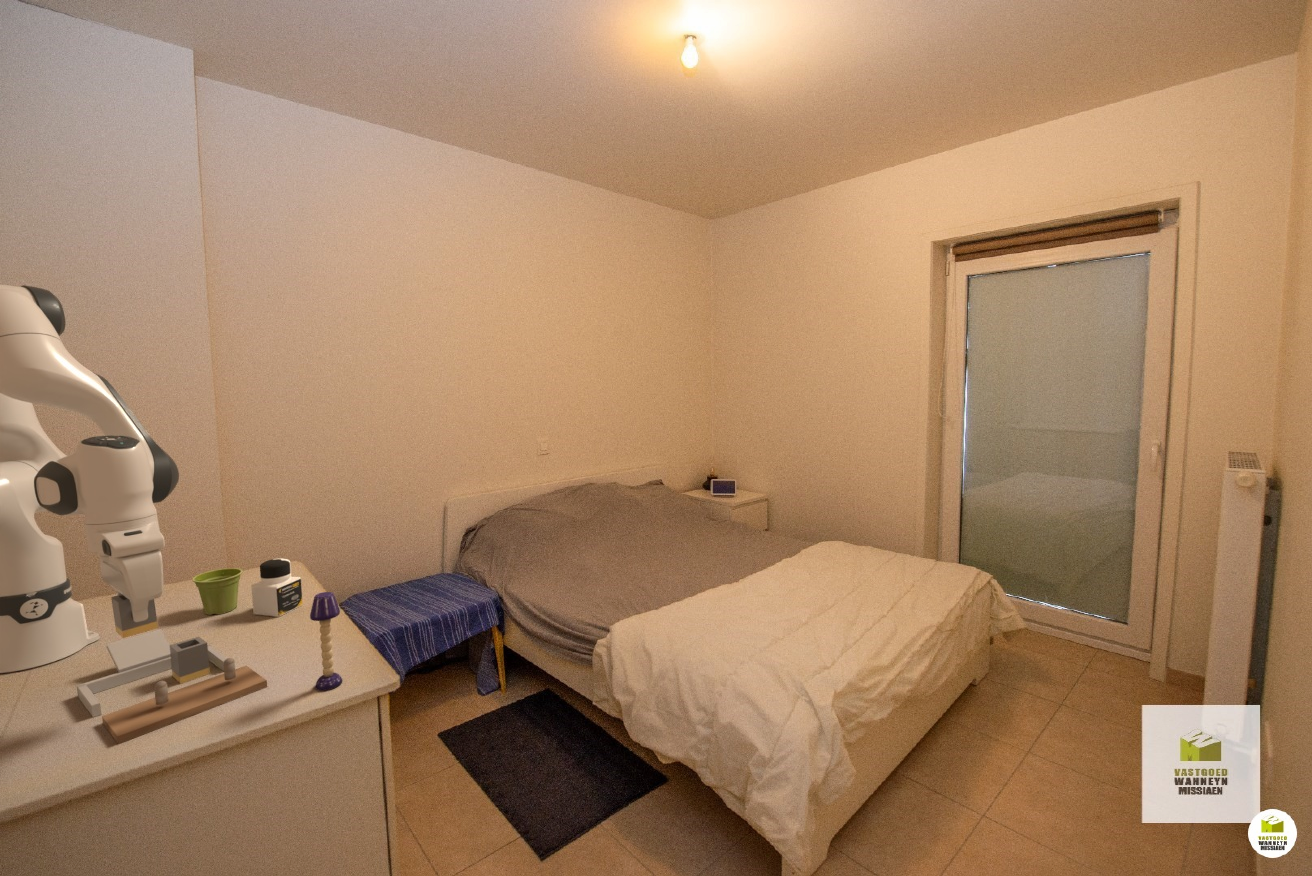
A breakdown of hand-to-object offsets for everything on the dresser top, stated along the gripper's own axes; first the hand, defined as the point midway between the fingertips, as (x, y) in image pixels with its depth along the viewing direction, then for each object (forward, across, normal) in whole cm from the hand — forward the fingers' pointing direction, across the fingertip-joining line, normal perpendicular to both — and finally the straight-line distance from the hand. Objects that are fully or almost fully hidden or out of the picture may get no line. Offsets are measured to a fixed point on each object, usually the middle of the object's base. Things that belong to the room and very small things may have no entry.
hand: (135, 616), depth 97 cm
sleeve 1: (+2, 0, 0) cm, 2 cm away
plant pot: (+15, -37, +22) cm, 45 cm away
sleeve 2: (+15, -6, +8) cm, 18 cm away
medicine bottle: (+16, -26, +30) cm, 43 cm away
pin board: (+16, +6, +4) cm, 17 cm away
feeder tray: (+15, -11, +3) cm, 19 cm away
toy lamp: (+16, +18, +21) cm, 33 cm away
